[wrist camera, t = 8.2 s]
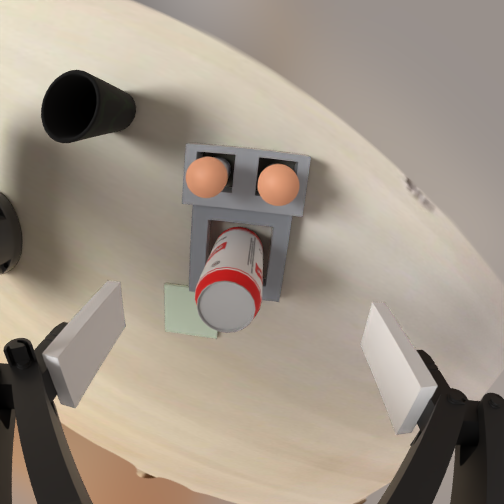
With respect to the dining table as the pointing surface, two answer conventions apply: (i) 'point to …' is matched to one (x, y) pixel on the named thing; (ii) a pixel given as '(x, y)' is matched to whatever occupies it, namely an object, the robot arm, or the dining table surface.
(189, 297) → the coaster
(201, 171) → the plunger inner
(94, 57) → the dining table surface
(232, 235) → the beer can
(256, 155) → the grey rack with holes
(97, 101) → the cup
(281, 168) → the ball
